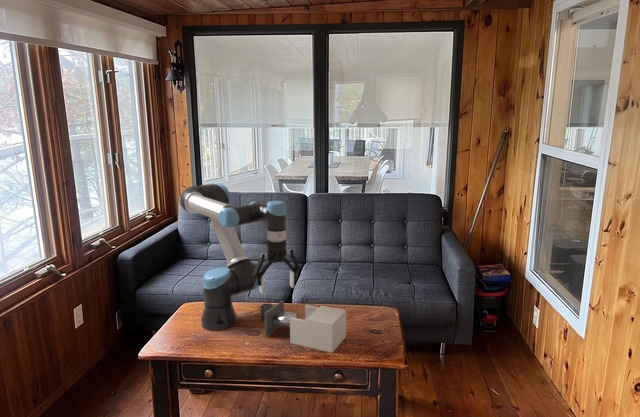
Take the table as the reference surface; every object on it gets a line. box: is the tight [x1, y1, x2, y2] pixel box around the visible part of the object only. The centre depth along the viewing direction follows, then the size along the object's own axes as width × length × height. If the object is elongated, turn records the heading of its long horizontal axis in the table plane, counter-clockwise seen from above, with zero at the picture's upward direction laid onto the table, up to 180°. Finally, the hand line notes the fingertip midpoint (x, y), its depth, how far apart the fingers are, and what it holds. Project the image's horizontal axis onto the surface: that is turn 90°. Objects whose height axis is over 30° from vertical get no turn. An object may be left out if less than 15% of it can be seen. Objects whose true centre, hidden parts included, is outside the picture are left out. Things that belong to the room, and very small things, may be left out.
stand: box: [260, 303, 274, 322], centre depth 194 cm, size 6×6×6 cm
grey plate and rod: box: [264, 300, 290, 337], centre depth 179 cm, size 18×14×10 cm
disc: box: [277, 311, 298, 326], centre depth 180 cm, size 8×8×2 cm
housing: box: [289, 304, 347, 354], centre depth 174 cm, size 18×14×12 cm
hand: (276, 289), depth 180 cm, fingers open, 13 cm apart
